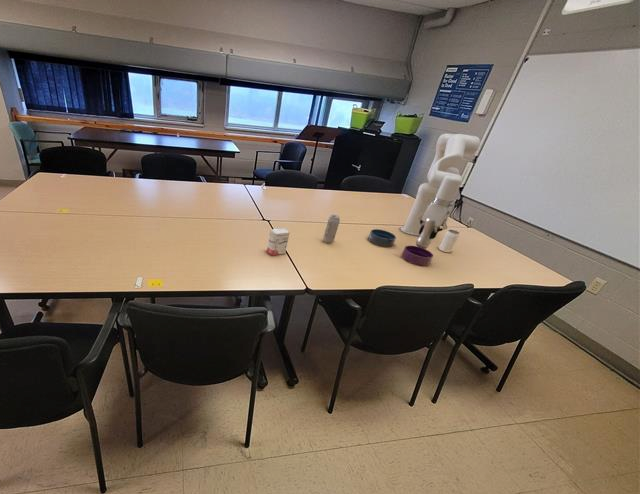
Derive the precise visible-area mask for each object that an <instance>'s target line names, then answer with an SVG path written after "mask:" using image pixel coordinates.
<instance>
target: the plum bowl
mask: <svg viewBox="0 0 640 494" xmlns="http://www.w3.org/2000/svg"><path fill="white" fill-rule="evenodd" d="M401 257H402V258H403V260H405V261H407V262H409V263H411V264H414V265H418V266H429V265H430V263H431V262H432V259H433V258H434V253H432V252H431V251H430V250H428V249H427V248H420V247H418V246H417V245H405V246H404V247H403V250H402V253H401Z"/></svg>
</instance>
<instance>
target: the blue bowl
mask: <svg viewBox="0 0 640 494" xmlns="http://www.w3.org/2000/svg"><path fill="white" fill-rule="evenodd" d="M396 239H397V236H396V235H395V234H394V233H393V232H390V231H388V230H384V229H379V228H376V229H375V228H374V229H371V230H370V232H369V235H368V238H367V240H368V241H369V242H371V243H372V244H375V245H377V246H380V247H387V248H388V247H392V246H394V244H395V242H396Z"/></svg>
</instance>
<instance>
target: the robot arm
mask: <svg viewBox="0 0 640 494" xmlns="http://www.w3.org/2000/svg"><path fill="white" fill-rule="evenodd" d="M480 145H481V139H480V138H479V137H478V136H476V135H472V134H471V135H470V134H465V133H455V134H454V133H442V134H440V135H439V137H438V138H437V141H436V146H435V155H434V158H433V161H432V162H431V165H430V168H429V170H428V172H427V175H426V179H427V180H428V182H424V183H421V184H420V185H419V186H418V189H417V193H416V197H415V198H414V199H415V200H414V203H413V204H412V207H411V210H410V212H409V213H408V216H407V219H406V222H405V224H404V226H401V227H400V231H402V232H403V233H405V234H406V235H410V236H418V237H419V236H420V234H421V233H422V231H423V228H424V225H425V222H426V219H427V218H430V217H432V218H434V220H435V222H436V223H435V230H434V232H432V234H431V236H430V239H431V240H434V239H435V238H436V237H437V235H438V233H440V232H442V231H445V230H447V229H448V225H447V222H448V219H449V217H450V214H451V209H452V207H454V206H455V203H454V202H453V200H454V198H455V196H456V194H457V192H458V190H459V188H460V186H461V185H462V182H463V178H462V175H460V170H459V169H458V168H457V167H455V166H458V165H460V164H461V163H462V162H463V161H464V157H465V155H469V156H470V155H474V154H475V153H477V151H478V150H479V148H480ZM429 201H431V203H429Z"/></svg>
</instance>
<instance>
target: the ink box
mask: <svg viewBox="0 0 640 494" xmlns="http://www.w3.org/2000/svg"><path fill="white" fill-rule="evenodd" d="M289 237H290V231H288V229H286V228H284V227H283V228H272V229H270V231H269V236H268V242H267V248H266V252H267V253H268V254H269V255H271V256H276V255H283V254H286V252H287V248H288V247H287V246H288V242H289Z"/></svg>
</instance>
